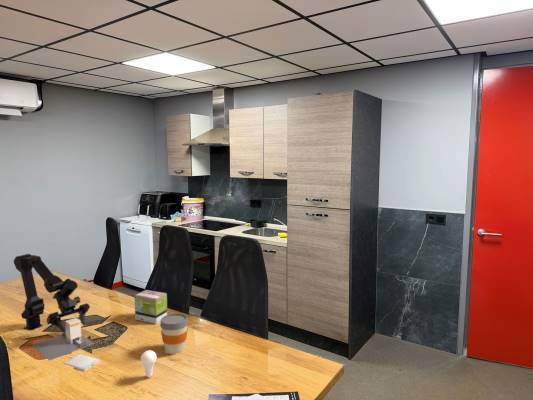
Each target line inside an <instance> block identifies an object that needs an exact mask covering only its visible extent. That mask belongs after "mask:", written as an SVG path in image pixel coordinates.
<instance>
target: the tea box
mask: <svg viewBox="0 0 533 400" xmlns="http://www.w3.org/2000/svg"><path fill="white" fill-rule="evenodd" d="M134 315H135V316H134V317H135V320H136V321H141V322H145V323H148V324H149V323H150V324H152V325H153V324H154V325H158V324H159V323H161V319H162V318H163V317H164V316H166V315H168V294H167V292H162V291H161V292H160V291H156V290H155V291H154V290H148V289H144V290H143V291H141V292H139V293H137V294H134Z"/></svg>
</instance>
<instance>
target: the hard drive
mask: <svg viewBox="0 0 533 400" xmlns="http://www.w3.org/2000/svg"><path fill="white" fill-rule="evenodd" d="M99 363H101V359H98V358H94V357H91V356H87V355H84V354H77V355H75V356H74V357H72V358H70V359H68V360H67V361H65V362H64V363H63V364H64V365H68V366H70V367H73V369H77V370H80V371H83V372H86V371H88V370H89V369H91V368H92V367H94V366H96V365H98V364H99Z"/></svg>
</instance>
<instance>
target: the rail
mask: <svg viewBox="0 0 533 400" xmlns="http://www.w3.org/2000/svg"><path fill="white" fill-rule="evenodd" d="M61 335H62V336H66V330H65V332H63V331H61ZM73 342H75V343H76V344H77V345H79V348H81V347H84V346H86V341H85V342H82V341H80V340H79V339H77V338H75V339H73ZM84 348H85V347H84Z"/></svg>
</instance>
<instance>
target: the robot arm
mask: <svg viewBox="0 0 533 400" xmlns="http://www.w3.org/2000/svg"><path fill="white" fill-rule="evenodd" d="M13 264H14V266H15V269H16V270H17V271H18V272H20V277H21V280H22V284H23V290H24V293H25V297H26V300H25V302H24V310H23V312H22V313H21V314H20V315H21V318H22V319H24V320H25V322H26V323H25V325H26V326H24V327H23V329H24V330H29V331H33V330H35V329H38V328H40V327H42V326H44V324H42V323H41V318H40V317H41V316H40V315H43V314H44V311H45V302H44V298H40V296H38V291H37V287H36V282H35V278H34V275H33V269H34V270H35V272H36V273H37V274H38V275H39V277H40V278H41V279H42V280H43V286H44V288H45V289H46V291H47V293H50V294H52V293H54V295H53V296H52V299H54V300H56V304H57V308H58V309H59V311H60V312H58V311H55V312H52V313H49V314H48V316H47V318H46V323H47V325H52V326H55V327H56V328H58V329H60V330H61V332H65V331H66V327H65V326H64V324H63V322H62V318H64V317H66V316H69V315H75V314H77V313H78V318H79V320H80V321H81V325H82V326H85V325H86V313H88V311H89V309H90V307H91V306H90V304H89V303H82V304H80V303H81V298H80V296H75V297H73V299H72V298H71V297H70V296H71V295H72V294H73V293H75V291H76V290H77V288H78V285H79V284H78V283H77V282H76V281H75V280H72V279H70V278H66V279H64V280H63V279H62V278H61V277H60V276H58V275H55V274H54V273H52V271H51V270H50V269H49V268H48V266H47V265H46V264H45V263H44V261H43V260H42V257H41V256H39V255H35V254H34V255H32V254H30V253H26V254H21V255H18V256H15V258H14V259H13ZM78 304H80V305H79V306H78ZM76 306H78V308H76Z"/></svg>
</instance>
